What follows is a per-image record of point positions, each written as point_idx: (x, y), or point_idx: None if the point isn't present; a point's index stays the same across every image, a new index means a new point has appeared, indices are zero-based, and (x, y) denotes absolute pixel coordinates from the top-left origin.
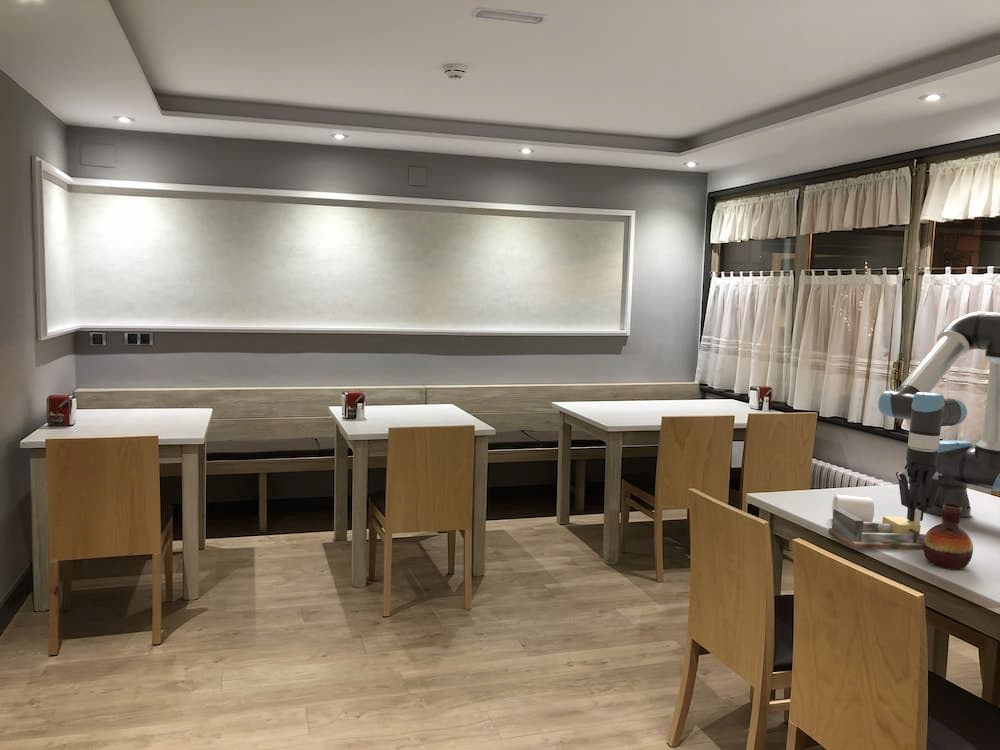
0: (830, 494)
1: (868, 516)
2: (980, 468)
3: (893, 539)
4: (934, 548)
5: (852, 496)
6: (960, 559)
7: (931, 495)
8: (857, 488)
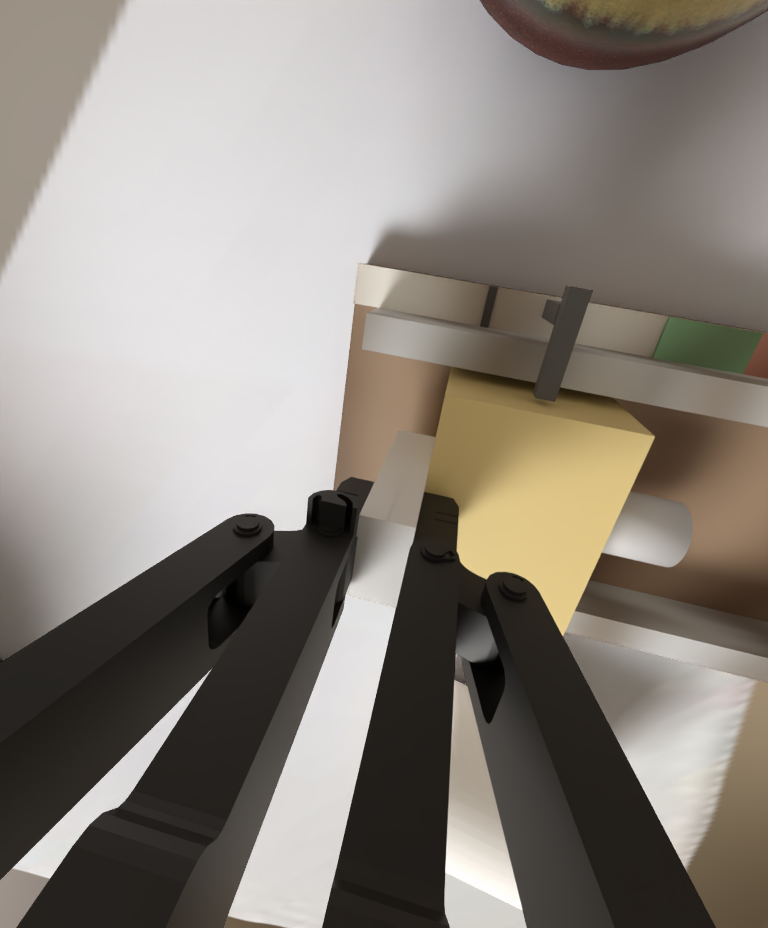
0: (297, 903)
1: None
2: None
3: (711, 370)
4: None
5: (514, 894)
6: None
7: (154, 619)
8: None
